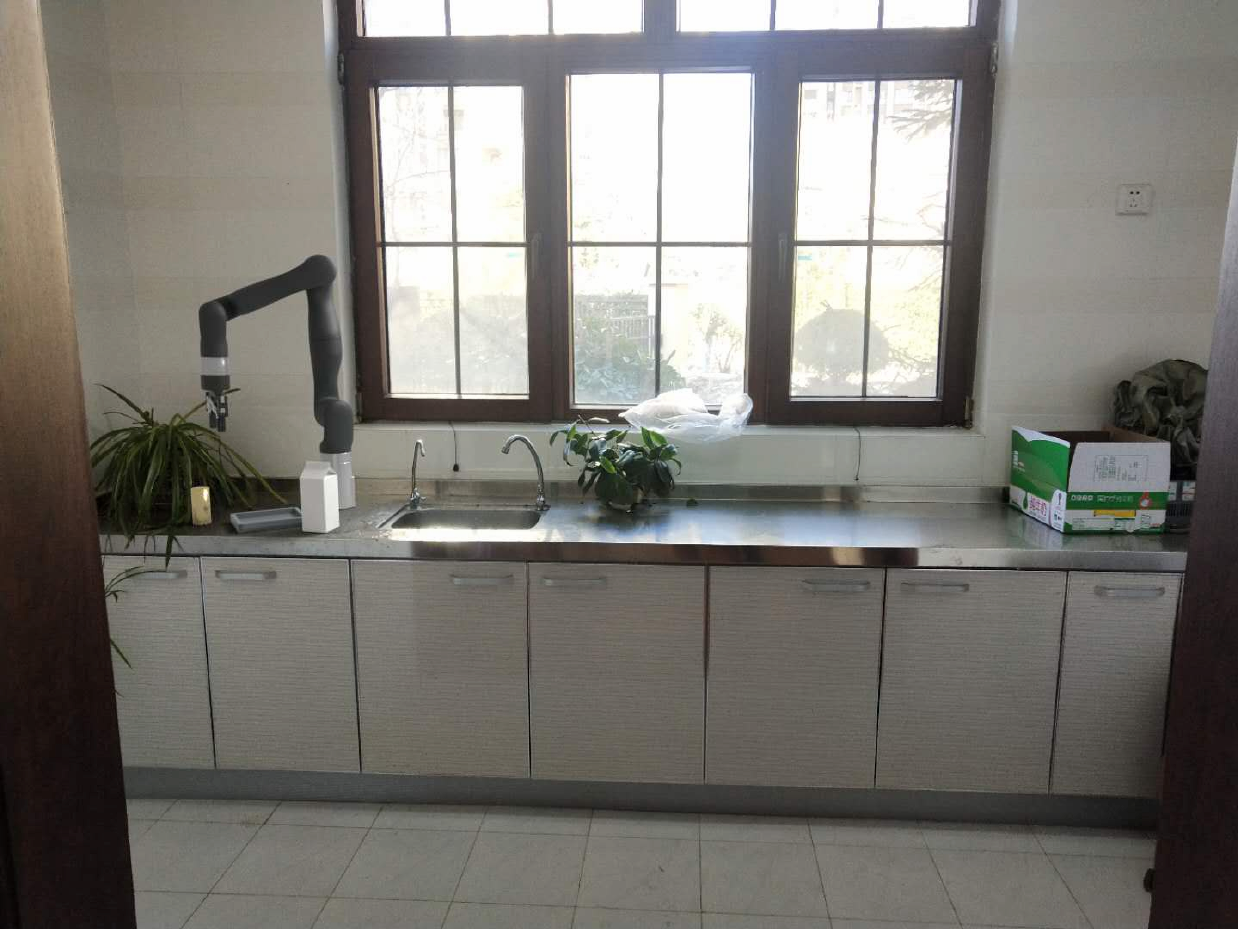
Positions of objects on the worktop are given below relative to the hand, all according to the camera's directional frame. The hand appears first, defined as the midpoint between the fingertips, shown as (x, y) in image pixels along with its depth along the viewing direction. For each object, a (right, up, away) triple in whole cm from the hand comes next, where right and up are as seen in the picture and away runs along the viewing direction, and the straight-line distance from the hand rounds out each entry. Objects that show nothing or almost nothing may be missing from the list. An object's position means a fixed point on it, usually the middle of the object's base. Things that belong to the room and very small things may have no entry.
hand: (217, 429), depth 242 cm
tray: (+16, -27, -3) cm, 31 cm away
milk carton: (+32, -28, -8) cm, 44 cm away
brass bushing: (-3, -26, -3) cm, 27 cm away
